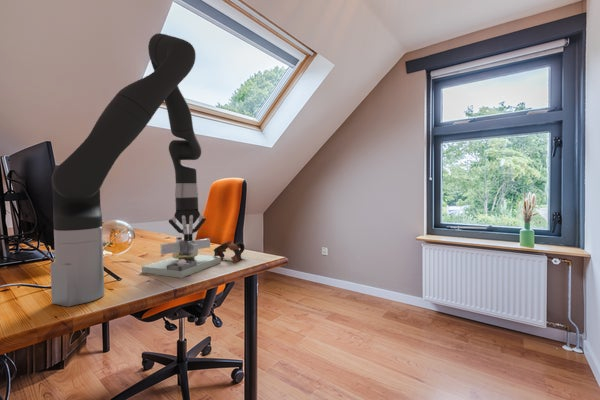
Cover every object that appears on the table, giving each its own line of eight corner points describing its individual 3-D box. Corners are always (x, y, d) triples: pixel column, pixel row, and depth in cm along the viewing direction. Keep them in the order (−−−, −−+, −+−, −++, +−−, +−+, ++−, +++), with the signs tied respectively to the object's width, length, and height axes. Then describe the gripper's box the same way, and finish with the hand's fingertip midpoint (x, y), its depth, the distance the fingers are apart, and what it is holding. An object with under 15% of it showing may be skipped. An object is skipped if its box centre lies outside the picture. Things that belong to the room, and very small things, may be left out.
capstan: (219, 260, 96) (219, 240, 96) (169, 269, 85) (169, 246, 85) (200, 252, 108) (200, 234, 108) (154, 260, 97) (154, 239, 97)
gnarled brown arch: (229, 266, 99) (217, 245, 100) (217, 273, 106) (206, 253, 106) (253, 251, 108) (243, 233, 109) (241, 258, 115) (231, 241, 115)
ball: (182, 268, 87) (182, 260, 87) (175, 268, 88) (175, 259, 88) (188, 266, 90) (188, 258, 90) (181, 265, 91) (181, 257, 91)
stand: (181, 277, 85) (181, 266, 85) (141, 272, 90) (141, 262, 90) (220, 262, 103) (220, 253, 102) (185, 258, 108) (185, 249, 108)
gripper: (205, 195, 108) (207, 240, 108) (167, 196, 103) (168, 243, 104) (206, 196, 101) (208, 244, 101) (165, 197, 96) (167, 248, 97)
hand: (188, 244), depth 102 cm, fingers closed
